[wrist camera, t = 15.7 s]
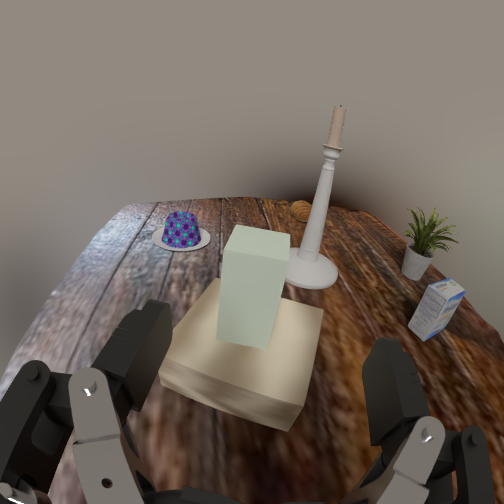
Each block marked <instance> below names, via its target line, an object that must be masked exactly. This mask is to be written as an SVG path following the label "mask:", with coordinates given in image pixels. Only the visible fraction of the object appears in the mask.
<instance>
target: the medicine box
mask: <svg viewBox="0 0 504 504" xmlns="http://www.w3.org/2000/svg"><path fill="white" fill-rule="evenodd" d="M464 293H465V290H464V289H463V288H462V287H461V286H460V285H459V284H457V283H456V282H455V281H453V280H452V279H450V278H448V279H445V280H442V281H440V282H437V283H434V284H431V285H429V286H428V288H427V290H426V291H425V293H424V296H423V298H422V299H421V301H420V303H419V305H418V307H417V309H416V311H415V313H414V315H413V317H412V319H411V320H410V322H409V324H408V327H409V328H410V329H411V330H412V331H413V332H414V333H415V334H416V335H417V336H418V337H419V338H420V339H421V340H422V341H423V342H424V341H426V340H428V339H429V338H431V337H432V336H434V335H435V334H437V333H439V332H440V331H442V330H443V329H444V328H445V327H446V325H447V323H448V322H449V320H450V318H451V317H452V315H453V313H454V312H455V310H456V308H457V306H458V305H459V303H460V301H461V299H462V297H463V295H464Z"/></svg>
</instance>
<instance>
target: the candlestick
mask: <svg viewBox="0 0 504 504" xmlns="http://www.w3.org/2000/svg"><path fill="white" fill-rule="evenodd" d="M345 114H346V109H345V108H342V107H337V106H334V110H333V116H332V121H331V127H330V132H329V138H328V143H327V145H326V144H322V145H323V146H324V149H325V150H324V152H323V155H324V156H325V164H324V166H323V167H322V172H321V176H320V179H319V183H318V187H317V190H316V194H315V198H314V201H313V205H312V208H311V212H310V215H309V219H308V222H307V226H306V229H305V233H304V236H303V239H302V242H301V246H300V248H290V255H289V265H288V269H287V273H286V277H285V281H286V282H288V283H290V284H292V285H295V286H298V287H302V288H307V289H323V288H327V287H329V286H331V285H333V284H334V283H335V281H336V279H337V276H338V273H337V269H336V268H335V266H334V265H333V263H332V262H331V261H330V260H329V259H328V258H326V257H325V256H323V255H322V254H319V250H320V243H321V238H322V234H323V229H324V224H325V219H326V214H327V208H328V202H329V198H330V192H331V186H332V181H333V174H334V171H335V169H334V164H335V162H336V160H337V159H338V158H339V153H340V152H341V151H342V150H344V149H342V148H339V146H340V140H341V135H342V130H343V125H344V119H345Z"/></svg>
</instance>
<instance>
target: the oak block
mask: <svg viewBox="0 0 504 504" xmlns="http://www.w3.org/2000/svg"><path fill="white" fill-rule="evenodd" d="M220 285H221V279H218V278H215V279H214V281H213V282H212V283H211V284H210V285H209V287H208V288H207V289H206V290H205V291H204V293H203V294H202V295H201V296H200V297H199V299H198V300H197V301H196V302H195V304H194V305H193V306H192V307H191V308H190V310H189V311H188V312H187V313H186V315H185V316H184V317H183V318H182V319H181V321H180V322H179V323H178V324H177V326H176V327H175V328H174V329H173V336H172V341H171V345H170V347H169V349H168V351H167V354H166V356H165V358H164V360H163V362H162V364H161V367H160V369H159V371H158V372H159V377H160V382H161V385H163V386H165V387H167V388H169V389H172V390H174V391H176V392H178V393H180V394H182V395H185V396H187V397H189V398H192V399H194V400H196V401H199V402H201V403H203V404H206V405H208V406H211V407H213V408H216V409H219V410H221V411H224V412H227V413H229V414H232V415H235V416H238V417H241V418H244V419H247V420H250V421H253V422H256V423H259V424H262V425H266V426H269V427H273V428H276V429H280V430H284V431H287V432H288V431H289V429H290V428H291V426H292V425H293V423H294V421H295V420H296V418H297V417H298V415H299V413H300V412H301V410H302V408H303V407H304V403H305V399H306V395H307V391H308V387H309V382H310V378H311V373H312V369H313V364H314V359H315V354H316V349H317V344H318V339H319V333H320V328H321V322H322V316H323V309H319V308H316V307H312V306H309V305H305V304H301V303H298V302H294V301H291V300H287V299H284V298H281V297H280V301H279V305H278V309H277V313H276V317H275V321H274V325H273V328H272V332H271V336H270V340H269V343H268V347H267V350H266V349H261V348H255V347H250V346H245V345H240V344H235V343H230V342H225V341H221V340H216V333H217V320H218V308H219V297H220Z"/></svg>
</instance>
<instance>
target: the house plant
mask: <svg viewBox="0 0 504 504" xmlns="http://www.w3.org/2000/svg"><path fill="white" fill-rule="evenodd" d="M410 211H411V213H412V214H413V217H414V220H415V223H416V226H417V228H416V226H415V225H414V224H412V223H409V225H410V226H411V227H412V229H413V230H414V233H415V236H416V237H415V236H414V235H413V234H412V233H411V232H410V231H409V230H407V231H406V232H405V233H406V234H410V235H413V236H414V238H413V237H412V238H413V239H414V241H415V243H408V244H407V248H406V252H405V257H404V261H403V265H402V269H401V272H402V273H403V274H404V275H405V276H406V277H408V278H409V279H412V280H420V278H421V277H422V275H423V274H424V272H425V271H426V269H427V268H428V266H429V264H430V263H431V261H432V260H433V258H434V255H433V253H432V252H433V251H434V250H435V247H437V248H442V249H444V250H446V248H444V247H443V246H439V245H436V244H443V245H444V246H446V247H447V245H445V244H444V243H441V242H438V243H435V242H437V241H439V240H450V241H454V242H457V241H455V240H453V239H451V238H448V237H445V236H437V235H438V234H440V233H441V232H443V231H445V230H447V229H448V228H450V227H454V226H453V225H451V226H446V227H444V228H442V229H440V230H439V231H437V232H436V233H435V234H434V235H432V236H431V237H430V234H431V233H434V232H433V230H434V229H435V228H436V227H437V226H438V225H439V224H440V223H441V222H443V221H444V220H445V219H447V218H448V217H446V218H444V219H442V220H440V221H438V222H437V217H438V214H435V215H434V212H435V208H434V210H433V211H432V213H431V216H430V219H429V222H428V224H427V226H425V219H424V217H423V216H424V214H422V212H421V211H422V210H421V211H420V219H421V228H420V224H419V219H418V216H417V213H416V214H415V213H414V212H413V211H412V210H410ZM415 212H416V211H415ZM448 231H449V230H448ZM453 232H455V231H453ZM446 233H448V232H446ZM443 234H444V233H443ZM449 234H451V233H449ZM410 235H405V236H409V237H411V236H410ZM457 243H458V242H457ZM434 245H435V246H434ZM429 246H430V247H429ZM428 247H429V248H428ZM430 248H432V252H430V250H429V249H430ZM447 248H448V247H447ZM446 251H447V250H446Z"/></svg>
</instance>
